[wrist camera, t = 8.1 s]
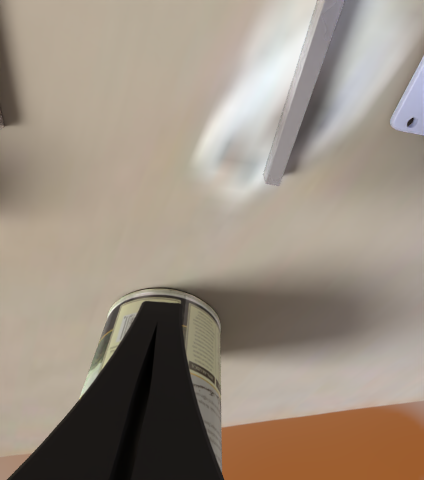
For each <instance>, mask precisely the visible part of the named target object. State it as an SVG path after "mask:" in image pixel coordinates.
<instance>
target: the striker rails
mask: <svg viewBox="0 0 424 480" xmlns="http://www.w3.org/2000/svg"><path fill="white" fill-rule="evenodd" d="M344 2H345V0H317V3H316V6H315V10H314V13H313V16H312V19H311V22H310V26H309V29H308V32H307V35H306V38H305V42H304V45H303V48H302V51H301V54H300V58H299V61H298V64H297V67H296V70H295V74H294V77H293V80H292V83H291V87H290V90H289V93H288V96H287V99H286V103H285V106H284V109H283V112H282V115H281V119H280V122H279V125H278V128H277V131H276V135H275V138H274V141H273V144H272V147H271V151H270V154H269V157H268V160H267V163H266V167H265V170H264V173H263V176H264V180H265V183H266V184H271V185H276V186H279V185H280V182H281V179H282V176H283V173H284V171H285V168H286V165H287V162H288V159H289V157H290V154H291V151H292V148H293V145H294V143H295V140H296V137H297V134H298V131H299V129H300V126H301V123H302V120H303V117H304V114H305V112H306V109H307V106H308V103H309V100H310V98H311V95H312V92H313V89H314V86H315V84H316V81H317V78H318V75H319V72H320V70H321V67H322V64H323V61H324V58H325V55H326V53H327V50H328V47H329V44H330V41H331V39H332V36H333V33H334V30H335V27H336V25H337V22H338V19H339V16H340V13H341V10H342V8H343V5H344ZM2 128H4V123H3V118H2V114H1V110H0V129H2Z"/></svg>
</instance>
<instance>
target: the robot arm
mask: <svg viewBox="0 0 424 480" xmlns="http://www.w3.org/2000/svg"><path fill="white" fill-rule="evenodd" d="M411 118H414V121H413V122H412V124H410V125H408V126H407V122H408V121H409V120H410V119H411ZM390 125H391V126H392V127H393V128H394V129H396V130H399V131H404V132H408V133H413V134H418V135H423V136H424V56H423V58H422V60H421V62H420V64H419V66H418V68H417V69H416V71H415V73H414V75H413V77H412V79H411V81H410V83H409V85H408V87H407V88H406V90H405V92H404V94H403V96H402V98H401V100H400V102H399V104H398V106H397V107H396V109H395V111H394V113H393V115H392V117H391V120H390ZM182 312H183V306H182V305H181V304H180V303H168V302H154V301H144V302H143V303H142V304H141V306H140V309H139V311H138V313H137V315H136V317H135V318H134V320H133V322H132V324H131V326H130V327H129V329H128V331H127V332H126V334H125V336H124V337H123V339H122V340H121V342H120V344H119V345H118V347H117V348H116V350H115V351H114V353H113V354H112V356H111V357H110V359H109V360H108V362H107V363H106V365H105V366H104V367H103V369H102V370H101V372H100V373H99V374H98V376H97V377H96V379H95V380H94V381H93V383H92V384H91V385H90V387H89V388H88V389H87V391H86V392H85V393H84V394H83V396H82V397H81V398H80V399H79V401H78V402H77V403H76V404H75V406H74V407H73V408H72V409H71V410H70V412H69V413H68V414H67V415H66V416H65V418H64V419H63V420H62V421H61V422H60V423H59V424H58V426H57V427H56V428H55V429H54V430H53V431H52V433H51V434H50V435H49V436H48V437H47V438H46V439H45V440H44V442H43V443H42V444H41V445H40V446H39V447H38V448H37V449H36V450H35V451H34V452H33V453H32V454H31V456H30V457H29V458H28V459H27V460H26V461H25V462H24V463H23V464H22V465H21V466H20V467H19V468H18V469H17V470H16V471H15V472H14V473H13V474H12V475H11V476H10V477H9V478H8V479H7V480H224V478H223V475H222V472H221V470H220V467H219V464H218V462H217V459H216V456H215V454H214V451H213V448H212V446H211V443H210V440H209V437H208V434H207V431H206V428H205V425H204V422H203V418H202V415H201V412H200V409H199V405H198V402H197V398H196V395H195V391H194V387H193V383H192V379H191V375H190V370H189V366H188V360H187V355H186V350H185V344H184V336H183V326H182Z"/></svg>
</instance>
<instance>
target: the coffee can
mask: <svg viewBox="0 0 424 480" xmlns="http://www.w3.org/2000/svg"><path fill="white" fill-rule="evenodd" d="M144 301H154V302H168V303H180V304H181V305H182V306H183V312H182V326H183V336H184V344H185V350H186V355H187V360H188V366H189V370H190V375H191V379H192V383H193V387H194V391H195V395H196V398H197V402H198V405H199V409H200V412H201V415H202V418H203V422H204V425H205V428H206V431H207V434H208V437H209V440H210V443H211V446H212V448H213V451H214V454H215V456H216V459H217V462H218V464H219V467H220V470H221V472H222V448H221V447H222V444H221V364H220V333H221V324H220V320H219V318H218V316H217V314H216V313H215V311H214V310H213V309H212V308H211V307H210V306H209V305H208V304H206V303H205V302H203V301H202V300H201V299H199V298H197V297H195V296H193V295H191V294H188V293H185V292H182V291H177V290H172V289H145V290H140V291H136V292H133V293H130V294H128V295H125V296H123V297H122V298H121V299H119V300H118V301H117V302H116V303H115V304H114V305H113V306H112V307H111V309H110V311H109V313H108V316H107V322H106V324H105V327H104V330H103V333H102V336H101V339H100V341H99V344H98V347H97V350H96V353H95V356H94V358H93V361H92V364H91V367H90V370H89V373H88V375H87V378H86V381H85V384H84V387H83V390H82V392H81V395H80V398H81V397H82V396H83V394H84V393H85V392H86V391H87V389H88V388H89V387H90V385H91V384H92V383H93V381H94V380H95V379H96V377H97V376H98V374H99V373H100V372H101V370H102V369H103V367H104V366H105V365H106V363H107V362H108V360H109V359H110V357H111V356H112V354H113V353H114V351H115V350H116V348H117V347H118V345H119V344H120V342H121V340H122V339H123V337H124V336H125V334H126V332H127V331H128V329H129V327H130V326H131V324H132V322H133V320H134V318H135V317H136V315H137V313H138V311H139V309H140V306H141V304H142V303H143V302H144ZM80 398H79V399H80Z"/></svg>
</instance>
